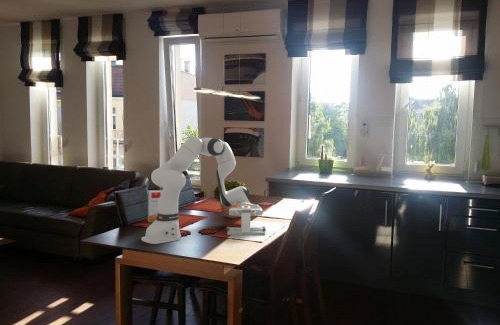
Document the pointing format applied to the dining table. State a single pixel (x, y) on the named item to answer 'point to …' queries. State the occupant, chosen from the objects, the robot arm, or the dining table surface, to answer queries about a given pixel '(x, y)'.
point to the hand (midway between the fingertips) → (246, 214)
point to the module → (245, 218)
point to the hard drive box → (153, 203)
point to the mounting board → (245, 233)
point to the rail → (250, 229)
